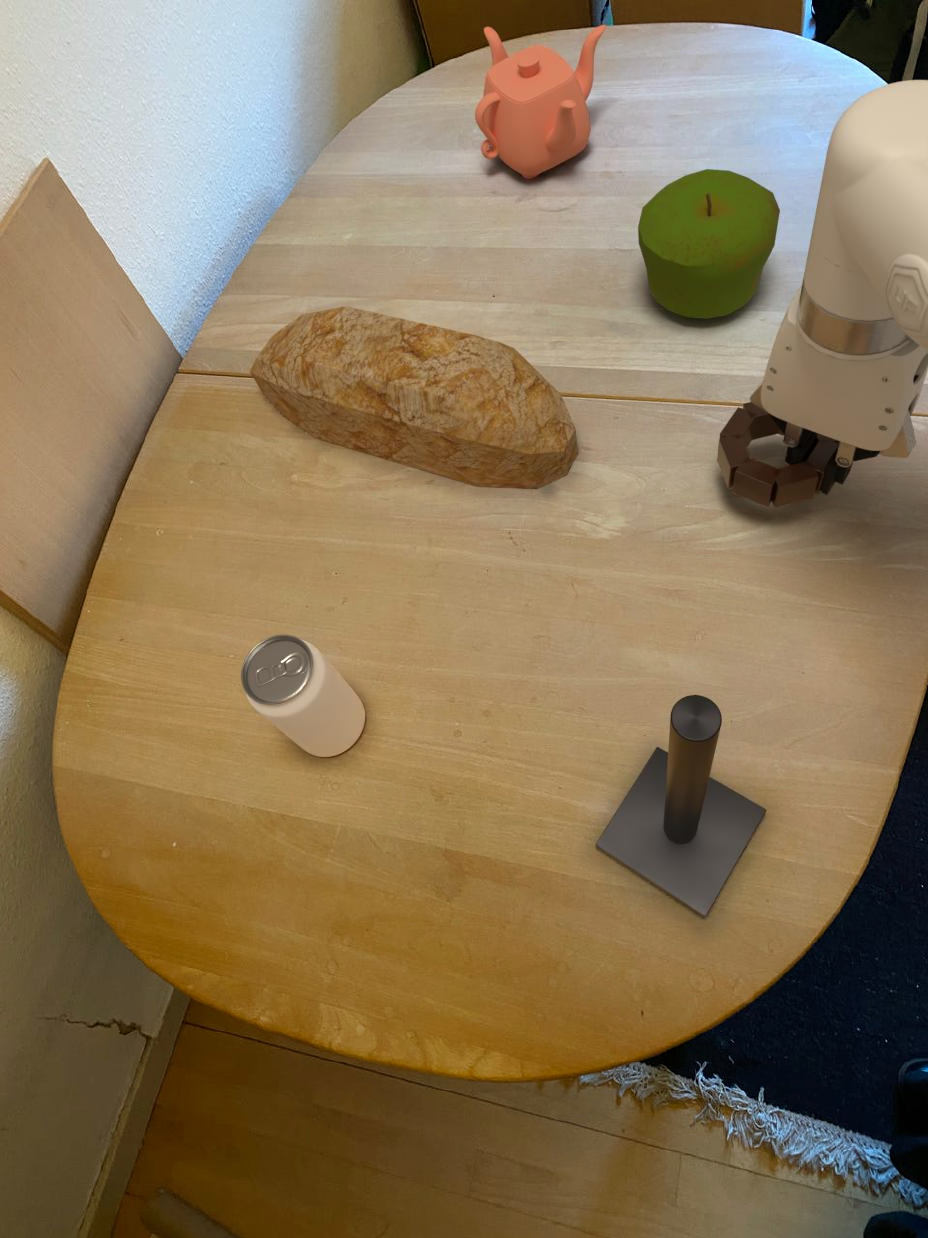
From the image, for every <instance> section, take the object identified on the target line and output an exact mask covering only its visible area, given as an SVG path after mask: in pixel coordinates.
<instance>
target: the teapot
mask: <svg viewBox="0 0 928 1238" xmlns="http://www.w3.org/2000/svg"><path fill="white" fill-rule="evenodd" d="M606 29H607V25H606V24H601V25H599V26H597V27H596V28H594V29H593V30H591V32H589V34H587V36H586V38H585V39H584V42H583V45H582V47H581V50H580V55H579V59H578V63H577V66H576V67H575V70H573V68H572V66H571V65H570V64H569V63H568V62H567V61H566V60H565V58H563V57H562V56H561V55H560V54H558V53H557V52H556V51H554V50H552V49H551V48H549V47H547V46H545V45H542V44H533V45H531V46H529V47H525V48H523V49H521V50H520V51H517V52H515V53H514V54H512V55H510V56H509V55H508V53H507V50H506V49H505V46H504V44H503V42H502V40H501V38H500V35H499V34H498V33H497V31H496V30H495V29H494V28H492V27H490V26H485V27H484V28H483V32H484V33H483V34H484V36H485V38H486V40H487V43H488V45H489V48H490V53H491V63H492V66H491V67H489V68H488V70H486V74H485V79H484V86H483V94H482V95H483V96H482V98H480V100H479V102H478V103H477V105H476V107H475V110H474V118H475V123H476V124H477V126H478V128H479V130H480V132H481V133H482V134H483V135H484V136H485V138H486V139H485V140H484V141H483V142H482V143H481V145H480V152H481V154H482V156H483V158H485V159H488V160H492V159H495V158H497V157H499V158H500V159H501V161H502V162H504V163H505V164H506V165H507V166H508V167H510V168H511V169H512V170H514V171H516V172H517V173H519V174H521V176H522V177H523V179H524V178H525V179H529V180H530V179H534V178H536V177H538V176H539V175H540V174H541V173H544V172H546V171H548V170H550V169H552V168H555V167H557V166H558V165H560V164H562V163H564V162H566V161H568V160H569V159H572V158H574V157H576V156H577V155H578V154H579V153H581V152H582V151H583V150H584V149H585V148H586V147H587V144H588V142H589V139H590V136H591V131H592V130H591V129H592V128H591V118H590V114H589V109H588V104H587V100H588V98H589V96H590V94H591V91H592V88H593V84H594V73H595V52H596V47H597V45H598V42H599V40H600V38H601V37H602V35H603V34H604V32H605V31H606ZM489 147H490V148H489ZM488 148H489V149H488Z"/></svg>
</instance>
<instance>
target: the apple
mask: <svg viewBox="0 0 928 1238" xmlns="http://www.w3.org/2000/svg"><path fill="white" fill-rule="evenodd" d="M780 212H781V209H780V207H779V204H778V202H777V200H776V197H775V194H774V192H772V191H771V190H769V189H767V188H766V187H765V186H763V185H761V184H760V183H758V182H757V181H754V180H753V179H751V178H750V177H748V176H745V175H743V174H739V173H737V172H734V171H732V170H728V169H727V170H725V169H711V168H706V169H703V170H699V171H696V172H693V173H688V174H685V175H683V176H682V177H680V178H678V179H676V180H674V181H672V182H670V183H668V184H666V185H665V186H664V187H663V188H662V189H660V190H659V191H658V192H657V193H656V194H655V195H654V196H653V197H652V198H651V199H650V200H649V201H647V203H646V204H645V205H644V206H642V208H641V212H640V217H639V221H638V226H637V231H638V233H637V234H638V245H639V248H640V249H639V250H640V252H641V256H642V259H643V261H644V262H643V263H644V265H645V270H646V271H645V272H646V276H647V284H648V288H649V291H650V293H651V295H652V297H653V298H654V301H655V302H656V303H658V304H659V305H661V306H662V307H664V308H665V309H666V310H667V311H669V312H672V313H675V314H676V315H679V316H682V317H685V318H693V319H706V320H707V319H713V318H718V317H719V318H720V317H723V316H724V317H725V316H728V315H730V314H732V313H734V312H735V311H737V310H739V309H741V308H743V307H744V306H746V304H747V303H748V302H749V301H750V299H751V298H752V297H753V296H754V294H756V292H757V289H758V286H759V283H760V280H761V277H762V274H763V270H764V267H765V265H766V263H767V261H768V259H769V257H770V255H771V254H772V251H773V250H774V248H775V246H776V245H775V244H776V239H777V233H778V232H777V231H778V225H779V219H780V214H781V213H780Z"/></svg>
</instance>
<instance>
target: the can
mask: <svg viewBox="0 0 928 1238" xmlns="http://www.w3.org/2000/svg"><path fill="white" fill-rule="evenodd" d="M240 681H241V685H242V688H243V690H244V692H245V695H246V698H247V700H248V702H249V704H250V706H251V707H252V708H253V709H254V710H255V711H256V712H257V713H259V714H260V715H261V716H262V717H263V718H265V719H266V720H267V721H268V722H269V723H271V724H272V725H273V726H274V727H275V728H276V729H278V730H279V731H280V732H281V733H283V734H284V735H285V736H286V737H288V738H289V739H290V740H291V741H292V742H293V743H294V744H296V745H297V746H298V747H300V748H301V749H302V750H303V751H305V753H308V754H309V755H312V756H315V757H319V758H330V757H334V756H338V755H340V754H342V753H344V752H346V751H348V749H350V748H351V747H352V746H353V745H354V744H355V743H356V742H357V741H358V739H359V738H360V736H361V734H362V732H363V730H364V727H365V723H366V711H365V707H364V704H363V702H362V701H361V699H360V697H359V696H358V695H357V693H356V692H355V691H354V689H353V688H352V687H351V686H350V685H349V683H348V682H347V681H346V680H345V679H344V677H343V676H342V675H341V674H340V673H339V672H338V671H337V669H336V668H335V667H334V666H333V665H332V664H331V662H329V660H328V659H327V658H326V656H325V655H323V653H322V652H321V651H320V650H319V649H318V648H317V647H316V646H314V644H312V643H310V642H309V641H307V640H304V639H300V638H299V637H297V636H295V635H291V634H275V635H271V636H269V637H267V638H265V639H263V640H261V641H259V642H258V643H256V645H255V646H254V647H253V648H251V650H250V651H249V652H248V653H247V655H246V657H245V659H244V661H243V663H242V666H241V670H240Z"/></svg>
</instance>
